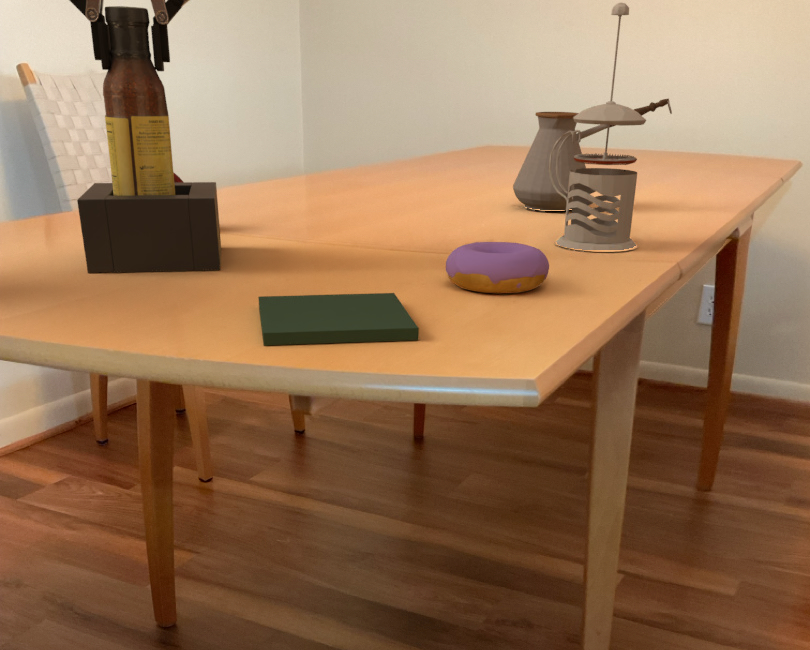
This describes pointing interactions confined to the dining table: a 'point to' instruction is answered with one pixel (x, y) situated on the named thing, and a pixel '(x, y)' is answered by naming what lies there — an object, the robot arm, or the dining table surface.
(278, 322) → the mat
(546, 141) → the coffee pot
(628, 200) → the french press
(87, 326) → the dining table surface
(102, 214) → the black open-top box
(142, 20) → the sauce bottle
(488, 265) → the donut
